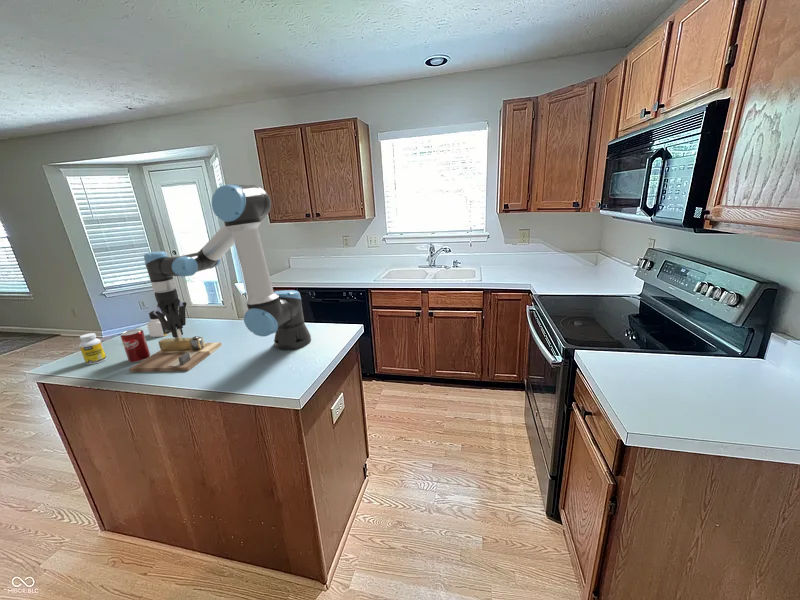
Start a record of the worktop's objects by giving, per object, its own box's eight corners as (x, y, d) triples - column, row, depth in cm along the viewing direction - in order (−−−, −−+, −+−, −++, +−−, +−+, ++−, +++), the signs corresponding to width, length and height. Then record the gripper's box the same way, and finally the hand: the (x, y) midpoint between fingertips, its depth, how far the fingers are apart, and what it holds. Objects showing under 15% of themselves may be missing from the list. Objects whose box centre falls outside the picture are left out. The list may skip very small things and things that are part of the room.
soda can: (139, 363, 132) (130, 335, 129) (124, 362, 134) (115, 335, 130) (155, 355, 139) (147, 328, 135) (141, 354, 140) (132, 328, 137)
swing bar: (206, 345, 141) (203, 334, 140) (199, 349, 137) (197, 339, 135) (167, 346, 142) (164, 336, 141) (159, 351, 138) (156, 340, 136)
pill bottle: (83, 366, 132) (73, 339, 129) (89, 360, 138) (79, 334, 134) (104, 362, 135) (95, 336, 132) (108, 356, 141) (100, 330, 137)
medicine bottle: (164, 336, 159) (158, 313, 156) (150, 337, 159) (143, 313, 156) (174, 330, 166) (168, 308, 163) (160, 331, 166) (154, 308, 163)
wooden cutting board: (221, 345, 145) (219, 336, 144) (188, 370, 124) (185, 359, 123) (171, 347, 146) (169, 337, 145) (130, 372, 125) (127, 361, 124)
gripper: (174, 285, 142) (188, 336, 149) (142, 294, 130) (159, 348, 138) (186, 286, 139) (200, 338, 146) (154, 295, 127) (170, 351, 135)
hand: (180, 343), depth 142 cm, fingers closed
